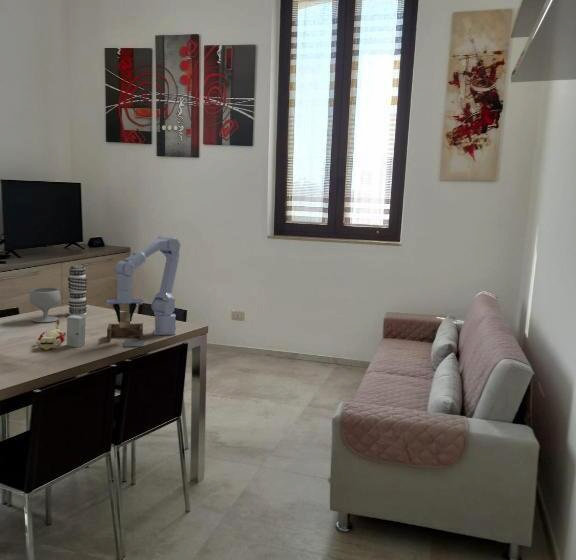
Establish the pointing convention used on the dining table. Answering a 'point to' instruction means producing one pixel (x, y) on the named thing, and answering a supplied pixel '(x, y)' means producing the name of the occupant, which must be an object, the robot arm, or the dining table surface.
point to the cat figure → (51, 338)
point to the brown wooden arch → (125, 331)
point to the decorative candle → (77, 290)
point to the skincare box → (75, 331)
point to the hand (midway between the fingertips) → (124, 321)
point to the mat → (133, 344)
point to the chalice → (44, 302)
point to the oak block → (124, 320)
